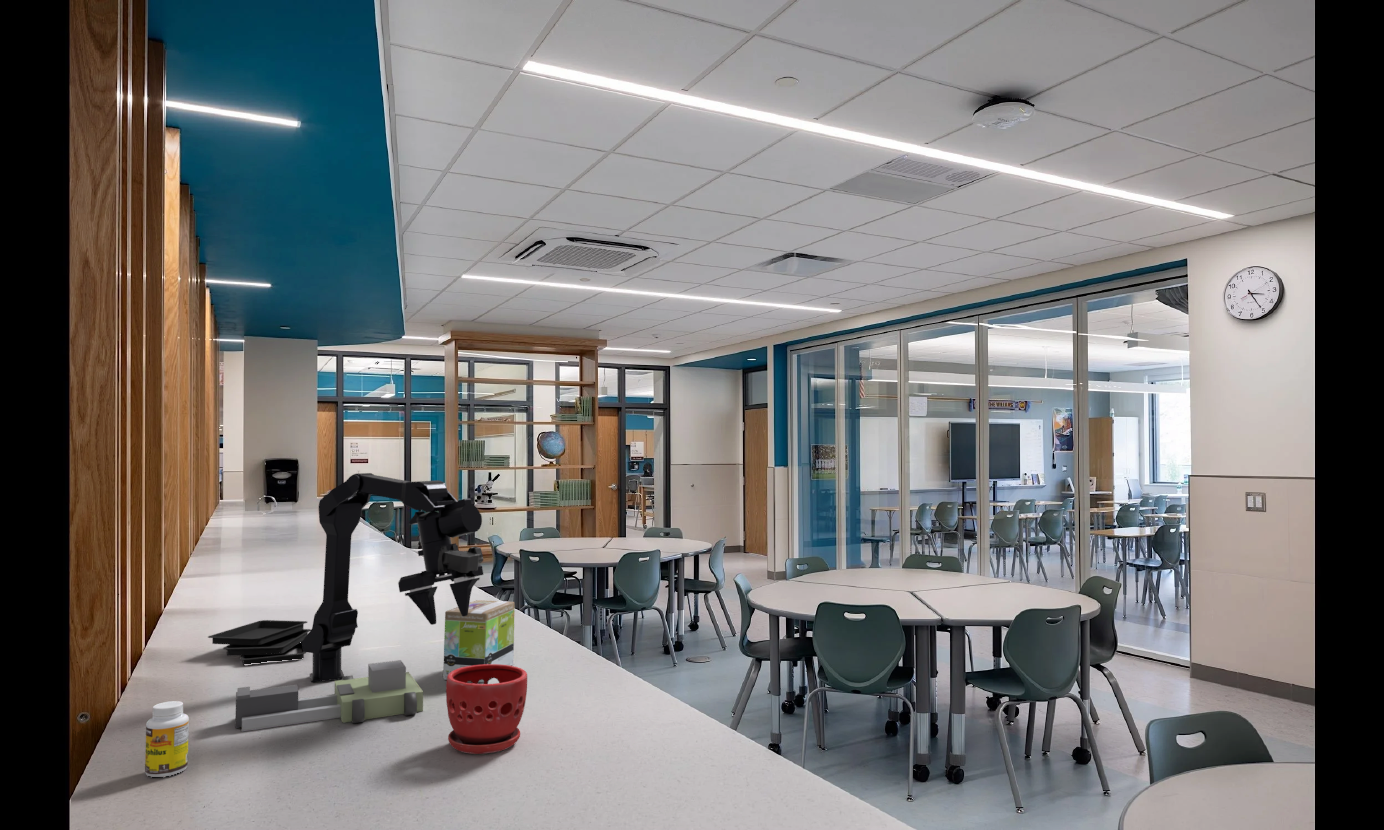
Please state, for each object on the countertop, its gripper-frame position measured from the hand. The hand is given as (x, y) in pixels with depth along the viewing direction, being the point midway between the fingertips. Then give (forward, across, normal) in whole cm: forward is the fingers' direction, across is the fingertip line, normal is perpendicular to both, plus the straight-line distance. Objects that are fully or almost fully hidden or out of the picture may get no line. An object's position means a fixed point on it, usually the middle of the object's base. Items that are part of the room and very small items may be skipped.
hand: (449, 619), depth 166 cm
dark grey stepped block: (+10, -24, +24) cm, 36 cm away
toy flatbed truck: (+12, -15, +18) cm, 26 cm away
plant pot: (+21, -18, -19) cm, 34 cm away
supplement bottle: (+12, -47, +18) cm, 52 cm away
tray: (-1, +13, +70) cm, 71 cm away
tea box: (+13, +18, +10) cm, 25 cm away
